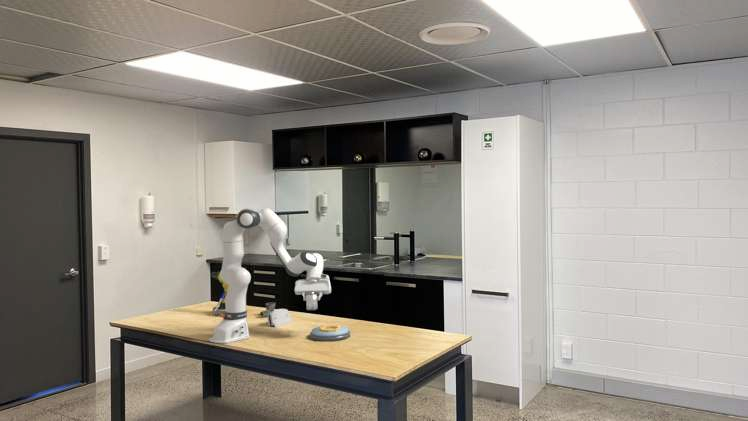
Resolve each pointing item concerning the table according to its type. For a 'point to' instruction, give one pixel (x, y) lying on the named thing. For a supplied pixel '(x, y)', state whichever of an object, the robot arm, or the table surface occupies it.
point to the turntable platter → (329, 331)
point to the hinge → (279, 317)
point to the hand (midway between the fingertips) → (311, 299)
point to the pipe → (268, 309)
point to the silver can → (311, 301)
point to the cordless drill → (221, 304)
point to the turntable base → (329, 338)
